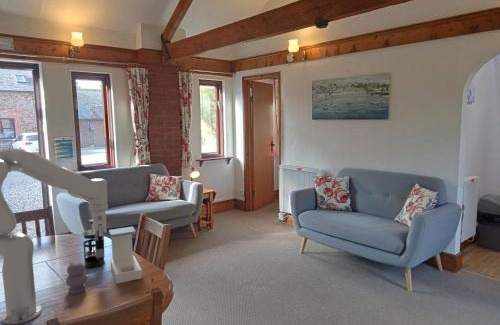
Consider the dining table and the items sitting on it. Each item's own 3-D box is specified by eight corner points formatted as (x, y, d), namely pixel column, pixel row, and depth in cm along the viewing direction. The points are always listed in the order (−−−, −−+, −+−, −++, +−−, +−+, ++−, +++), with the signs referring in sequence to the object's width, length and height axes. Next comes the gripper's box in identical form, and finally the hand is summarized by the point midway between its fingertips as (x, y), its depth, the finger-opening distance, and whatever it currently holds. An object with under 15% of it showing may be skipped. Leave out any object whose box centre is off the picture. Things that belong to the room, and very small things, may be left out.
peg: (104, 256, 162) (103, 230, 161) (96, 258, 160) (95, 231, 159) (103, 254, 165) (102, 228, 164) (95, 255, 163) (94, 229, 162)
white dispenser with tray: (142, 278, 165) (139, 237, 163) (116, 283, 160) (113, 241, 158) (134, 263, 182) (132, 225, 179) (110, 267, 177) (108, 229, 174)
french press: (81, 264, 181) (77, 219, 178) (99, 259, 187) (97, 215, 184) (90, 271, 173) (86, 224, 170) (109, 265, 179) (106, 220, 176)
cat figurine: (90, 290, 155) (88, 263, 153) (71, 296, 149) (68, 268, 147) (83, 283, 161) (81, 257, 159) (64, 289, 155) (61, 262, 154)
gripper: (109, 209, 155) (110, 251, 157) (105, 202, 169) (106, 240, 171) (90, 211, 151) (91, 254, 153) (87, 203, 166) (89, 243, 168)
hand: (99, 246), depth 162 cm, fingers closed on peg, 3 cm apart
